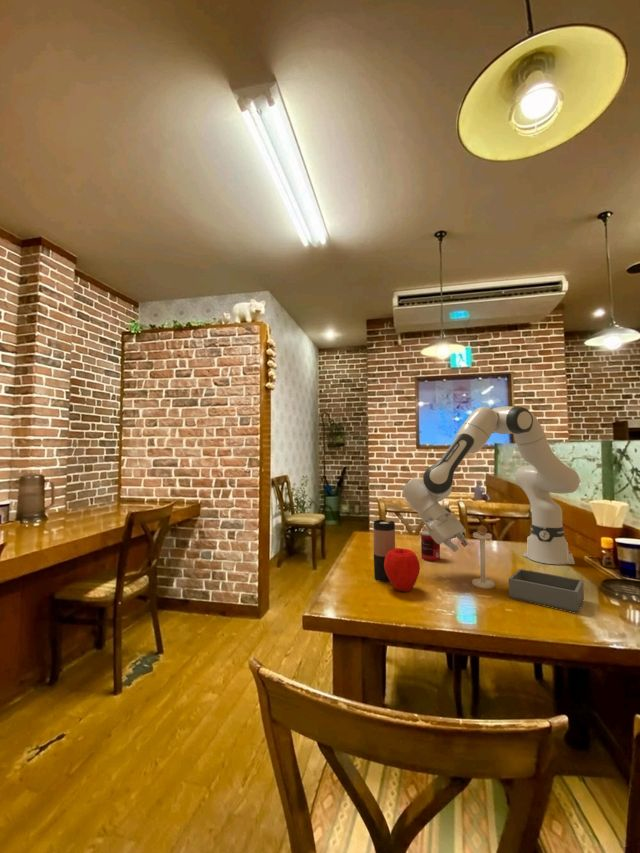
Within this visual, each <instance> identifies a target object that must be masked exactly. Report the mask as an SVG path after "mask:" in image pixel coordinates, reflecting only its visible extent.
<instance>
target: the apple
mask: <svg viewBox="0 0 640 853" xmlns="http://www.w3.org/2000/svg"><path fill="white" fill-rule="evenodd" d="M420 568H421V567H420V561H419V558H418V556H417V555H416V553H415V552H414V551H412V550H411V549H407V548H403V547H402V548H400V547H395V548H394V549H392V550H390V551H389V552H388V553H387V554H386V557H385V560H384V569H385V572H386V575H387V577H388V579H389V580H390V584H391V585H392V586H393V588H394V589H395V590H397V591H399V592H406V593H407V592H409V591H411V589H413V587H414V585H415V584H416V582H417V581H418V578H419V574H420Z"/></svg>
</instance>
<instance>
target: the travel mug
mask: <svg viewBox="0 0 640 853" xmlns="http://www.w3.org/2000/svg"><path fill="white" fill-rule="evenodd" d="M395 523H396V522H395V521H393V520H390V521H386V520H385V519H377V520H373V570H374V572H373V573H374V580H376V581H378V580H379V581H378V582H382V581H383V583H385V582H386V583H389V582H390V580H389V579H388V577H387V575H386V572H385V569H384V560H385V557H386V554H387V553H388V552H389V551H390V550H392V549H394V548H396V524H395ZM390 583H391V582H390Z"/></svg>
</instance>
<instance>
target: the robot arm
mask: <svg viewBox="0 0 640 853" xmlns="http://www.w3.org/2000/svg"><path fill="white" fill-rule="evenodd" d="M456 433H457V434H456V435H455V437H454V440H453V442H452V444H450V446H449V448H447V450H446V451H445V453H444V454H443V456H441V458H440V459H439V460H438V461H437V462H436V463H434V464H432V465H430V466H429V467H427V469H426V470H425V472H424V474H423V477H420V478H417V477H416V478H415V477H414V478H411V479H409V480H408V481H407V482H406V483H405V485H404V487H403V488H402V496H403V497H404V499H405V500H406V502H407V503H408V505H409V506H410V507H411V509H413V510H414V511H415V512H416V513H417V514H418V516H419V518H420V519H421V520H422V521H423V522H424V525H425V528H426V531H428V533H429V534H430V535H431V537H432V538H433V540H434V541H435V542H436V543H437V544H440V545H442V544H444V545H445V546H447V547H448V548H449V549H451V551H452V552H453V553H455V552H458V551H459V550H460V547H458V545H457V544H455V543H454V542H452V540H453V539H454V538H457V540H459V542H460V544H461V545H462V546H463V547H464V548H465V547H467V546H468V545H469V542H468V541H467V539H466V536H465V535H464V534H463V533H464V532H465V531H466V530H465V529H466V528H465V527H464V525H463V524H462V523H461V521H460V520H459V519H458V518H457V517H456V515H454V514H453V511H452V510H451V508H448V507H445V506H443V505H441V504H440V501H443V500H444V499H446V498H448V497H450V494H451V493H452V491H453V480H454V473H455V471H456V470H457V468H458V467H459V465H460V464H461V463H462V461H463V460H464V459H465V457H466V456H467V455H469V454H476V453H478V452H479V451H481V449H482V448H484V446H485V445H486V443H487V442H488V441H489V439H490V437H491V436H492V435H493V434H499V435H500V434H501V435H507V434H508V435H511V434H513V438H514V440H515V443H516V446H517V448H518V451H519V453H520V456H521V458H522V460H523V461H525V462H526V463H528V464H530V465H525V466H520V467H519V468H518V469H516V472H515V476H514V477H515V481H516V484H517V487H520V489H522V491H523V492H524V493H525V495H526V497H527V499H528V501H529V504H530V511H531V525H530V535H529V536H527V539H526V541H527V542H526V543H527V545H526V552H523V554H522V556H523V557H524V558H528V559H529V560H532V561H534V562H537V563H540V564H541V563H542V564H547V565H549V564H550V565H557V566H558V565H576V563H575V558H574V556H573V553H571V551H570V550H569V542H567V540H566V538H565V528H564V526H563V509H562V507H561V505H560V504H558V503H557V502H556V501H555V500H554V499H553V498H552V497H551V494H550V493H552V494H559V495H561V494H571V493H574V492H576V491H577V490H578V489H579V487H580V482H581V480H580V476H579V473H578V472H577V471H576V470H575V469H573V468H571V467H569V466H568V465H566V464H565V463H564V462H562V460H560V459H559V458H558V456H557V455H556V454H555V453H554V452H553V450H552V448H551V446H550V444H549V442H548V439H547V436H546V434H545V432H544V429H543V427H542V425H541V423H540V421H539V420H538V418H537V417H536V415H535V414H534V413H531V411H530V410H529V409H527V408H526V407H523V406H507V405H506V406H499V407H497V406H496V407H488V406H480V407H477V408H476V409H474V410H473V412H472V413H471V414H470V415H468V417H467V418H466V419H465V421H464V422H463V424H462V425H461V426H460V427H459V429H458V431H457V432H456Z"/></svg>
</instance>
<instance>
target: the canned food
mask: <svg viewBox="0 0 640 853" xmlns="http://www.w3.org/2000/svg"><path fill="white" fill-rule="evenodd" d="M420 554H421V559H422V560H423V559H424V560H423V561H425V560H426V561H425V562H439V561H440V559H441V544H437V543H436V542H435V541H434V540H433V538H432V537H431V535H430V534H429V533H428V531H427V530H422V531H420ZM438 560H439V561H438Z"/></svg>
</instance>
